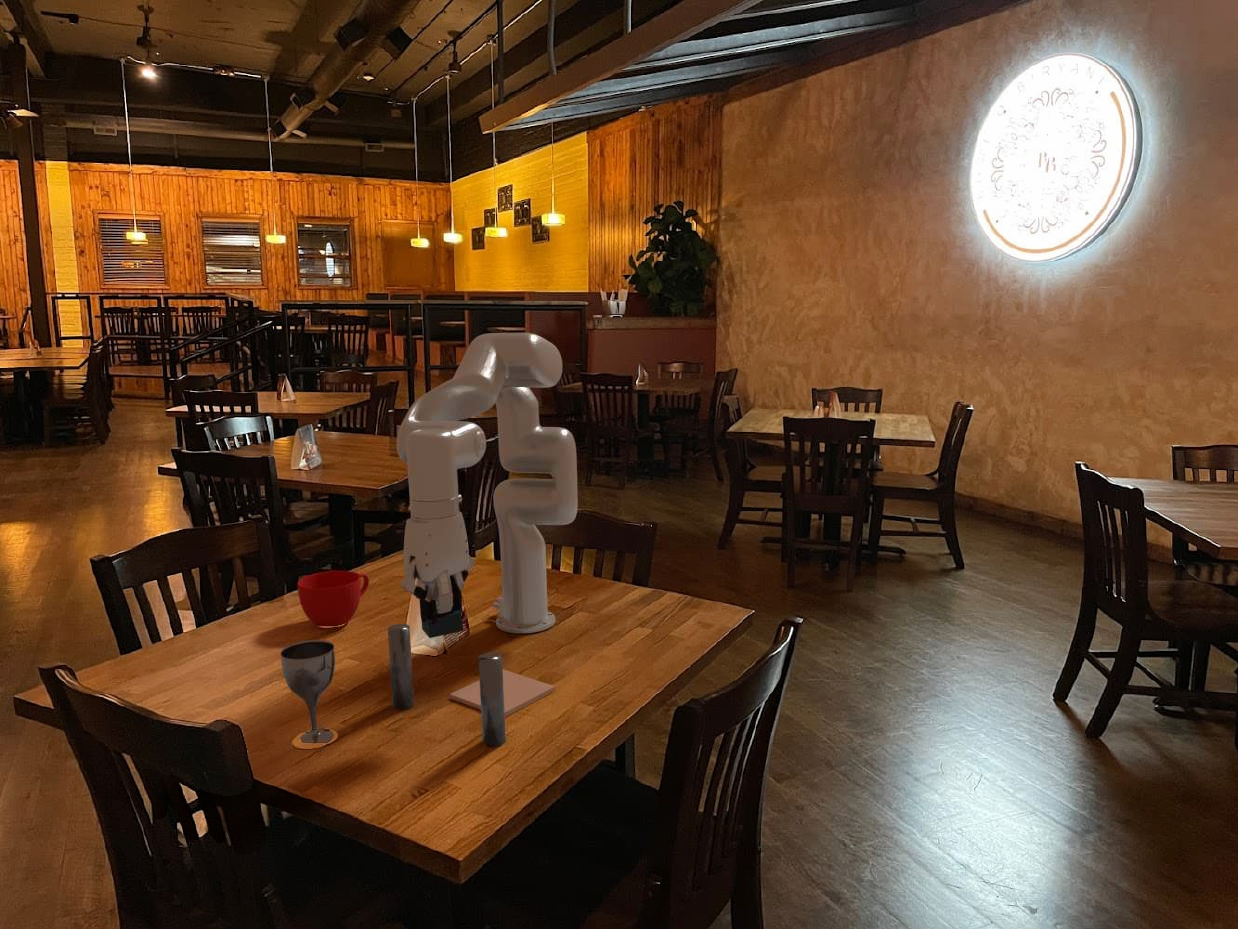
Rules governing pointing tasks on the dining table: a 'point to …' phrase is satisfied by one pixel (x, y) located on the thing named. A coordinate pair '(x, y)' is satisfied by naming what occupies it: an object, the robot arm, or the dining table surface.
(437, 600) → the watch
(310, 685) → the wine glass
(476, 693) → the terracotta tile
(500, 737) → the metal post
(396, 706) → the metal post
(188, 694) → the dining table surface
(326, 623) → the ceramic cup
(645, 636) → the dining table surface
